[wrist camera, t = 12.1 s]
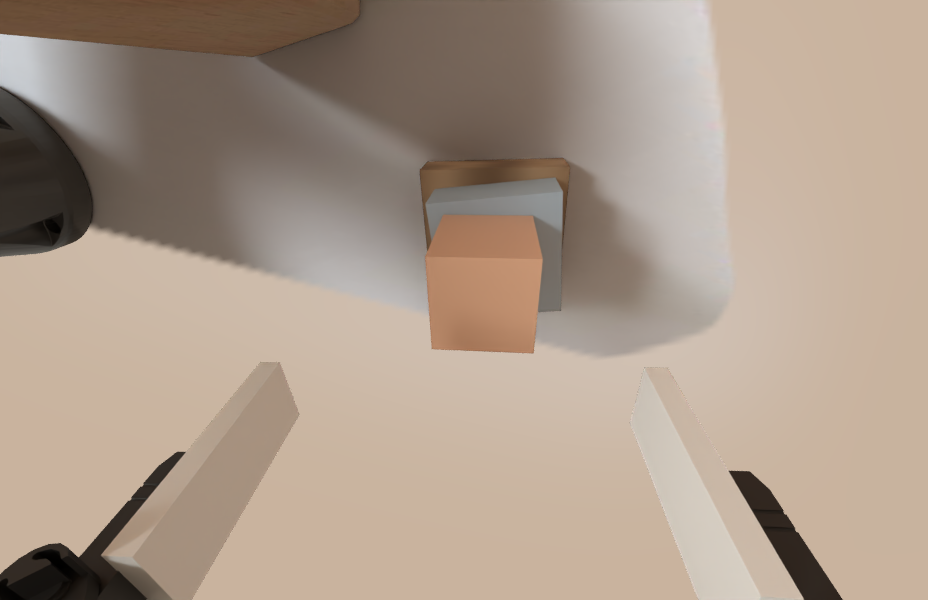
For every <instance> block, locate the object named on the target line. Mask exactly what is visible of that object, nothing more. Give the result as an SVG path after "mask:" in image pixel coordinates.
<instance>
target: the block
mask: <svg viewBox="0 0 928 600" xmlns="http://www.w3.org/2000/svg"><path fill="white" fill-rule="evenodd" d="M359 15H360V1H359V0H0V34H7V35H18V36H29V37H40V38H51V39H62V40H73V41H83V42H94V43H105V44H116V45H127V46H138V47H148V48H159V49H170V50H181V51H192V52H203V53H214V54H224V55H235V56H246V57H254V56H257V55H260V54H263V53H266V52H269V51H272V50H275V49H278V48H281V47H284V46H287V45H290V44H292V43H295V42H298V41H301V40H304V39H307V38H310V37H313V36H316V35H319V34H322V33H325V32H328V31H331V30H334V29H337V28H340V27H343V26H346V25H349V24H352V23H353V22H354V21H355V19H356V18H357V17H358V16H359Z"/></svg>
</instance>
